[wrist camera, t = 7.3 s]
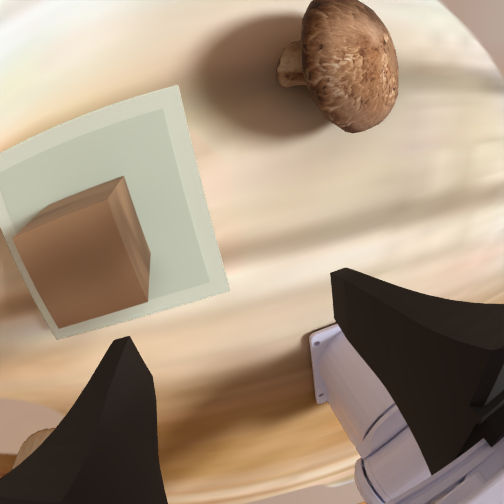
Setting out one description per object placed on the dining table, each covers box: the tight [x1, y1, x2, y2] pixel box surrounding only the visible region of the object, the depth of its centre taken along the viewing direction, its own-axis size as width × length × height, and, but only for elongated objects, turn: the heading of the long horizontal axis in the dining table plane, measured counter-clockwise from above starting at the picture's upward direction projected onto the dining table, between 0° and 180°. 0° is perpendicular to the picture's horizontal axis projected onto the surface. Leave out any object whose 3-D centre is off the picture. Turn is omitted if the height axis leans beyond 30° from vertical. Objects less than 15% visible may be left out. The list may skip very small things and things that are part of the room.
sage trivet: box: [0, 85, 230, 340], centre depth 17 cm, size 12×12×2 cm
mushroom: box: [277, 0, 398, 133], centre depth 15 cm, size 8×8×6 cm
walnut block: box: [12, 176, 151, 329], centre depth 14 cm, size 4×4×5 cm
